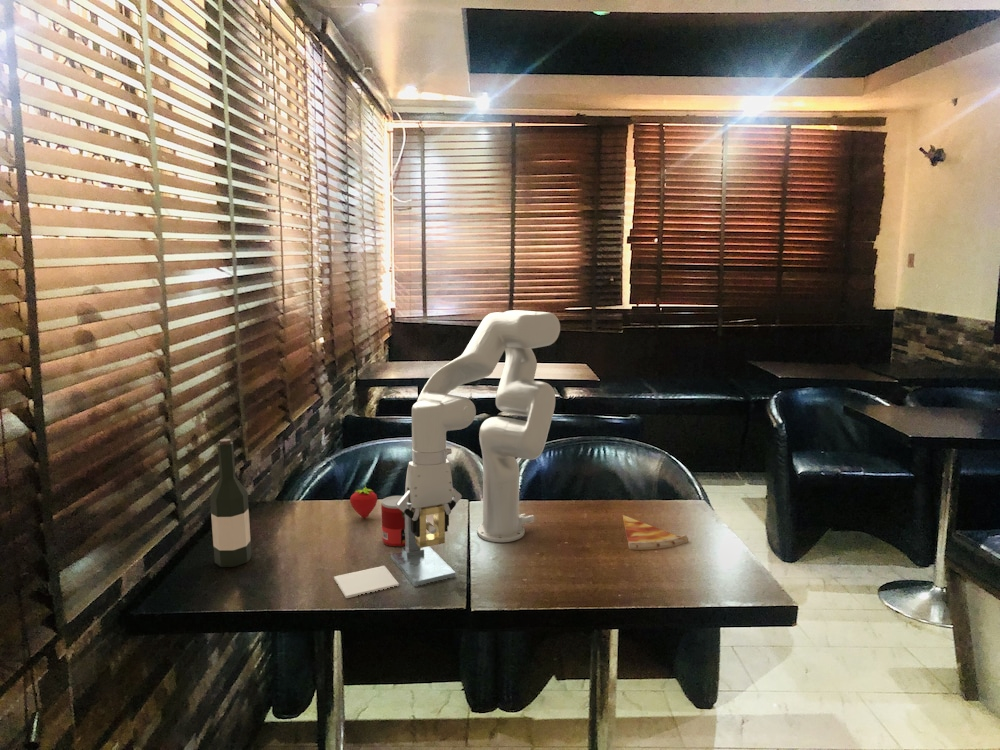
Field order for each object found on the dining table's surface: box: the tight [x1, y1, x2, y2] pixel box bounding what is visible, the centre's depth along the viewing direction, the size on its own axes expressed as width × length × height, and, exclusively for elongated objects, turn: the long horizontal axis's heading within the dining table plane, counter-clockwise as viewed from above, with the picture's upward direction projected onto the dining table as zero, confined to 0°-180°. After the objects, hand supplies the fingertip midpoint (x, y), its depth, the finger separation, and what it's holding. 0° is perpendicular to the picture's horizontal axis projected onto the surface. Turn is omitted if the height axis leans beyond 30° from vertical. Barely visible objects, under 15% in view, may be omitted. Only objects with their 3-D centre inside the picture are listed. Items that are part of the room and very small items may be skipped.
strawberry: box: [349, 482, 378, 519], centre depth 191 cm, size 6×8×10 cm
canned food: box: [380, 495, 405, 547], centre depth 175 cm, size 8×8×11 cm
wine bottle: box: [209, 438, 252, 568], centre depth 162 cm, size 8×8×30 cm
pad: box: [333, 565, 400, 599], centre depth 154 cm, size 12×10×1 cm
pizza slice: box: [622, 514, 689, 551], centre depth 182 cm, size 16×22×2 cm
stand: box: [390, 502, 456, 587], centre depth 160 cm, size 10×16×14 cm, turn 28°
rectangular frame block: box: [415, 505, 446, 548], centre depth 155 cm, size 6×3×9 cm, turn 118°
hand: (430, 531), depth 155 cm, fingers closed on rectangular frame block, 6 cm apart
